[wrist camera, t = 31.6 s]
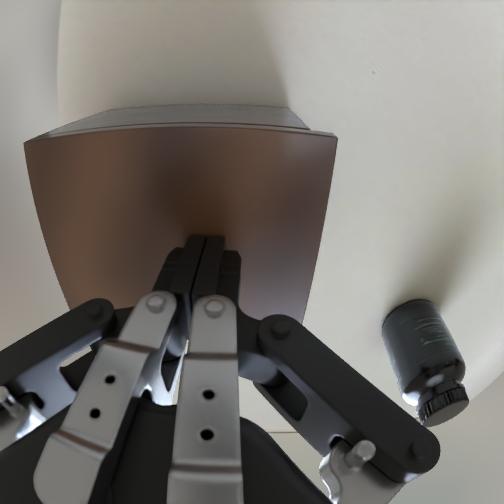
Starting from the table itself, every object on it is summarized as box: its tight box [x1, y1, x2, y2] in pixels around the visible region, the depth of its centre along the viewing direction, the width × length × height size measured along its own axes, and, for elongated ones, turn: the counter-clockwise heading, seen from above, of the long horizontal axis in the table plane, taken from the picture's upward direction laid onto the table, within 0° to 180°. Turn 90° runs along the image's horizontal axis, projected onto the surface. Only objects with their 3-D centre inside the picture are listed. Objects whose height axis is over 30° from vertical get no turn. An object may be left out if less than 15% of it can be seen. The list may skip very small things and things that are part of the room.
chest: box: [37, 104, 310, 137], centre depth 17 cm, size 13×11×9 cm
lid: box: [24, 123, 338, 325], centre depth 13 cm, size 13×11×1 cm
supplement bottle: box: [382, 300, 469, 427], centre depth 24 cm, size 7×7×12 cm
